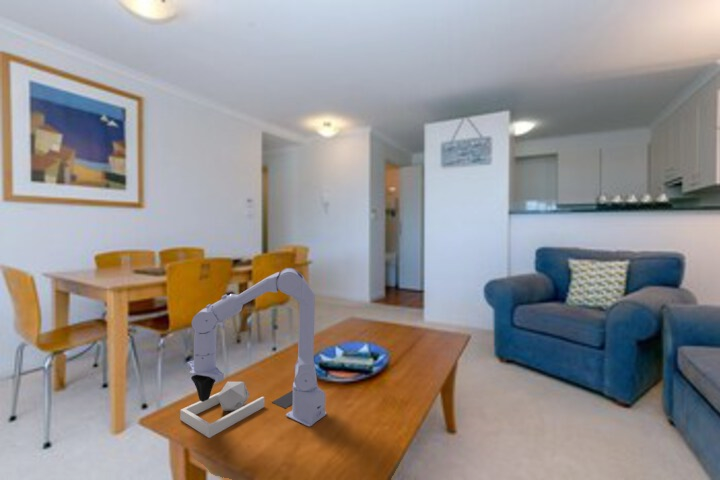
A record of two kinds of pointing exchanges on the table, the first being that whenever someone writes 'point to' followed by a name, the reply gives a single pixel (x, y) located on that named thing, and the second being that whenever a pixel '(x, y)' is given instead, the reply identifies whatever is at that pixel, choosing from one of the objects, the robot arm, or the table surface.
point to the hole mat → (285, 400)
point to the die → (233, 396)
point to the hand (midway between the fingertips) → (204, 399)
